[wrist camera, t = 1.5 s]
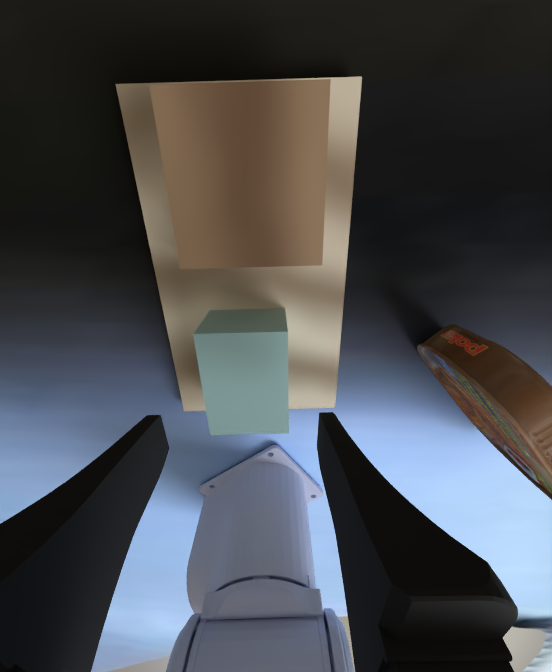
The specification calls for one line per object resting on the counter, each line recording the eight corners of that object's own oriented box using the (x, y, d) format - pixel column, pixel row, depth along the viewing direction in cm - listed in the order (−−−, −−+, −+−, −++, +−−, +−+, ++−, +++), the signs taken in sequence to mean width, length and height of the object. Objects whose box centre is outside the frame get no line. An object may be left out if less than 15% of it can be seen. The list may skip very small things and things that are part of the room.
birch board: (332, 399, 22) (334, 407, 21) (187, 403, 22) (184, 411, 21) (356, 86, 14) (362, 76, 13) (126, 93, 14) (115, 83, 13)
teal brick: (221, 396, 20) (210, 435, 17) (210, 310, 17) (193, 334, 14) (286, 394, 20) (288, 433, 17) (285, 308, 17) (288, 331, 14)
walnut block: (199, 259, 16) (180, 269, 13) (179, 117, 13) (148, 84, 10) (312, 256, 16) (322, 265, 13) (316, 113, 13) (330, 78, 10)
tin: (398, 329, 19) (481, 401, 12) (436, 301, 18) (554, 359, 11) (486, 441, 24) (587, 547, 16) (520, 423, 23) (644, 525, 15)
